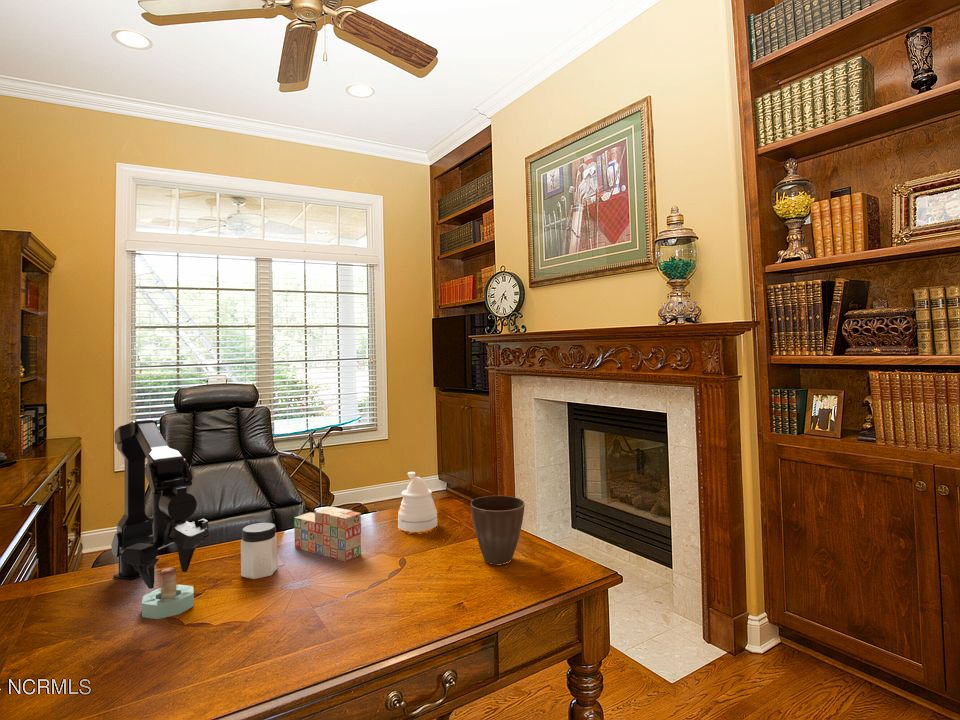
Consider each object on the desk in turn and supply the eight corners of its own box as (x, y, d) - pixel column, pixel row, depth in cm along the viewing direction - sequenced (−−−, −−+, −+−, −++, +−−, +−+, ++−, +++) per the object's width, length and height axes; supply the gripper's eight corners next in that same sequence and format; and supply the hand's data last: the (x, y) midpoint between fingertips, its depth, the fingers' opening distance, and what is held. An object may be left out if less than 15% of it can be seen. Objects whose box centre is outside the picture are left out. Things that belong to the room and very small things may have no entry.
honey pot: (392, 532, 171) (392, 476, 171) (405, 520, 184) (404, 468, 184) (431, 534, 169) (431, 477, 169) (441, 522, 182) (440, 469, 182)
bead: (131, 615, 118) (131, 601, 118) (169, 595, 128) (169, 583, 128) (168, 620, 115) (167, 607, 115) (203, 600, 125) (203, 587, 125)
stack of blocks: (293, 548, 159) (293, 507, 159) (310, 542, 164) (310, 502, 164) (345, 562, 147) (345, 517, 147) (361, 555, 153) (361, 511, 153)
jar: (244, 582, 135) (243, 534, 135) (238, 571, 142) (237, 526, 141) (281, 573, 140) (280, 528, 140) (273, 564, 147) (273, 520, 146)
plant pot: (536, 562, 145) (536, 504, 145) (492, 576, 136) (491, 513, 136) (503, 547, 157) (503, 492, 157) (460, 558, 149) (460, 501, 149)
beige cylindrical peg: (158, 610, 120) (157, 572, 120) (169, 604, 123) (168, 567, 123) (168, 611, 120) (168, 573, 120) (179, 605, 122) (179, 568, 122)
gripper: (160, 526, 110) (162, 602, 110) (226, 502, 128) (227, 567, 128) (118, 522, 113) (120, 596, 113) (188, 499, 131) (190, 563, 131)
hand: (168, 579), depth 121 cm, fingers open, 9 cm apart
